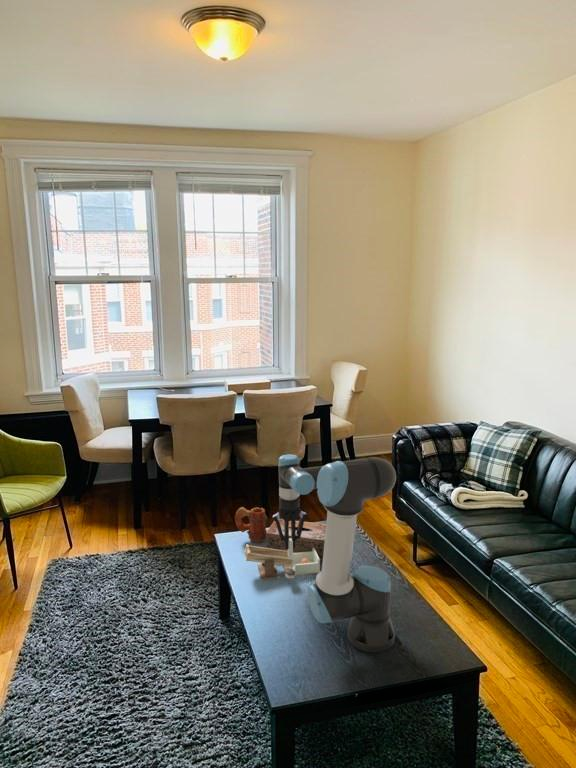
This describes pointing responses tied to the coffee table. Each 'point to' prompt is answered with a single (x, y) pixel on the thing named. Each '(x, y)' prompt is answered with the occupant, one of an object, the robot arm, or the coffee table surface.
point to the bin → (306, 567)
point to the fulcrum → (268, 570)
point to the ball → (304, 561)
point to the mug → (252, 523)
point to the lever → (270, 557)
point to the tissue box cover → (309, 538)
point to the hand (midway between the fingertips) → (290, 556)
